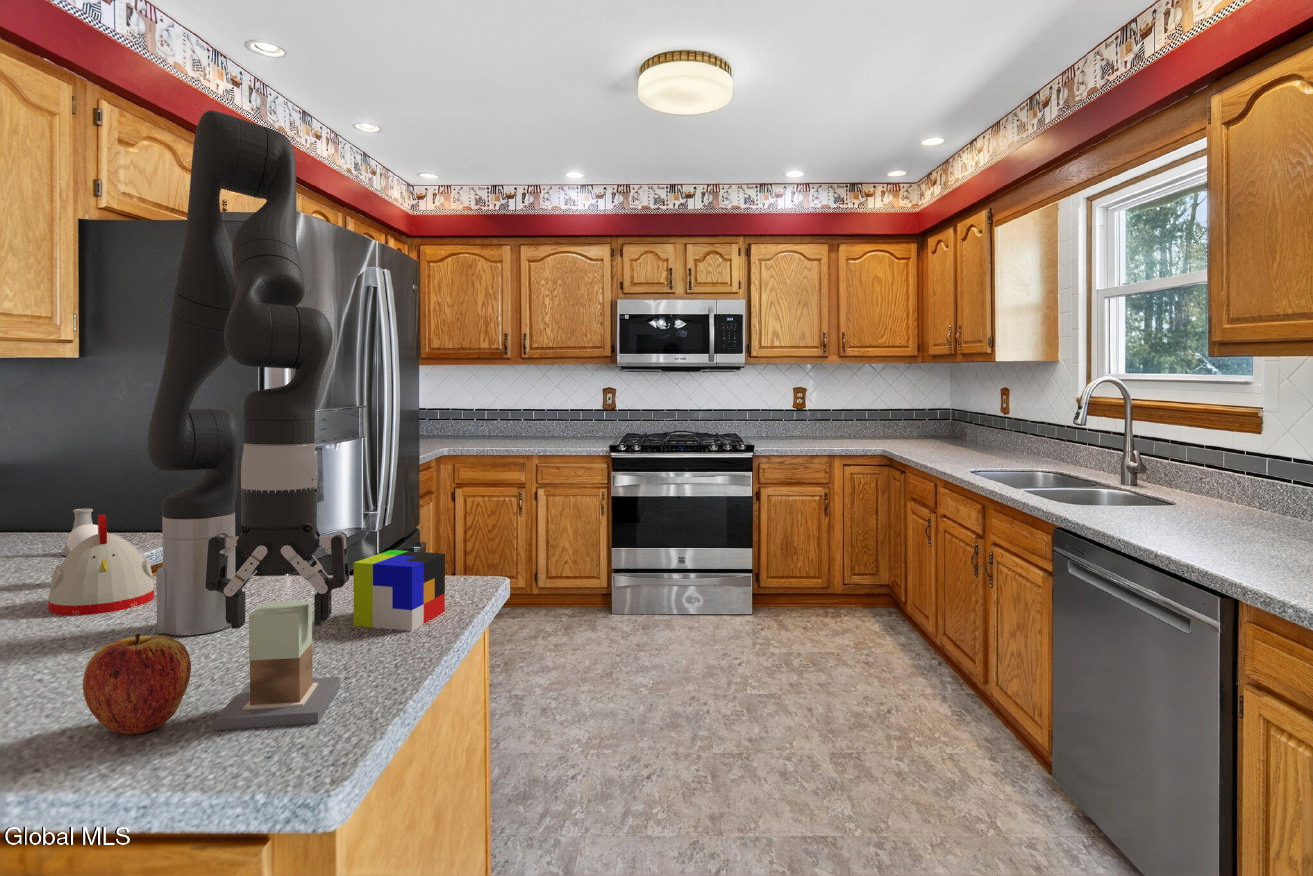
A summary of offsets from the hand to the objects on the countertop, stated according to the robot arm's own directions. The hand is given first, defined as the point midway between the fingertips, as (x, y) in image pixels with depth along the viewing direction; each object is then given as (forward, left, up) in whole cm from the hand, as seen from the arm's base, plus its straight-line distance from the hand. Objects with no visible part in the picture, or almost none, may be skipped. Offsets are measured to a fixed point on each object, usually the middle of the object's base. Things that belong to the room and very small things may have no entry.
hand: (279, 625), depth 79 cm
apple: (-13, -4, -10) cm, 16 cm away
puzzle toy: (+8, +31, -10) cm, 34 cm away
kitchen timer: (-42, +47, -10) cm, 64 cm away
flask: (-67, +89, -10) cm, 112 cm away
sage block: (0, -1, -3) cm, 3 cm away
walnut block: (0, -1, -8) cm, 8 cm away
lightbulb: (-51, +62, -9) cm, 81 cm away
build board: (0, -1, -9) cm, 9 cm away
